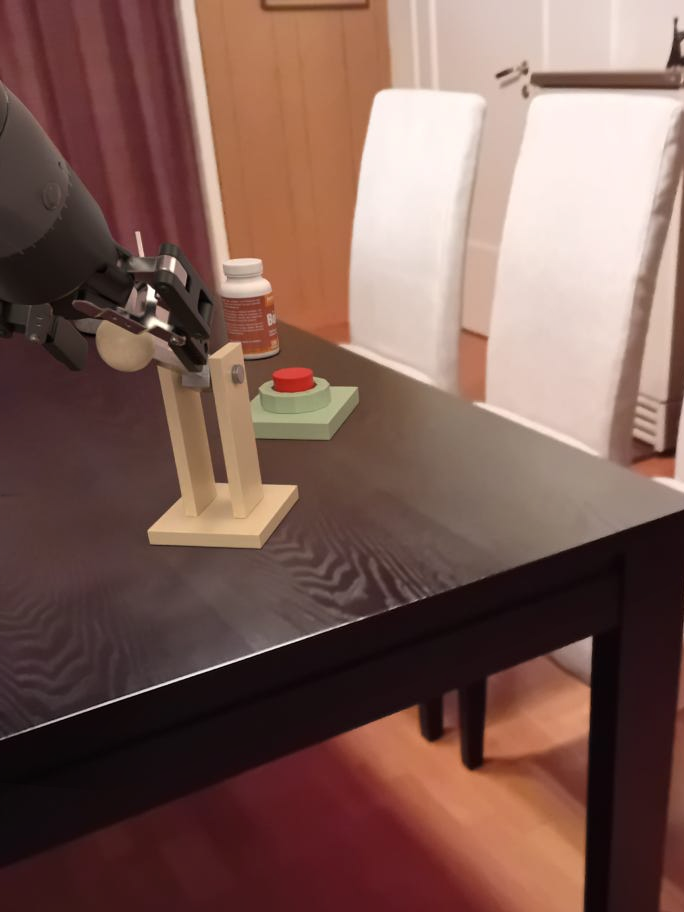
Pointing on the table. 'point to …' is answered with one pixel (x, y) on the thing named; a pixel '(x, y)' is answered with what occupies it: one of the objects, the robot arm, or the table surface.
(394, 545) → the table surface
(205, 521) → the switch
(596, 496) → the table surface
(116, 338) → the switch lever
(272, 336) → the pill bottle
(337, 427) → the stop panel
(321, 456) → the table surface
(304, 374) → the stop button
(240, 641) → the table surface
